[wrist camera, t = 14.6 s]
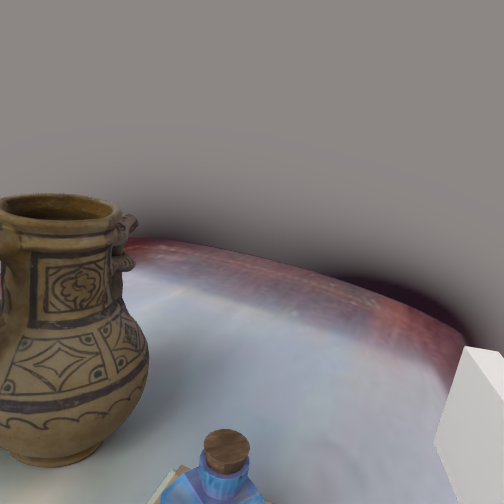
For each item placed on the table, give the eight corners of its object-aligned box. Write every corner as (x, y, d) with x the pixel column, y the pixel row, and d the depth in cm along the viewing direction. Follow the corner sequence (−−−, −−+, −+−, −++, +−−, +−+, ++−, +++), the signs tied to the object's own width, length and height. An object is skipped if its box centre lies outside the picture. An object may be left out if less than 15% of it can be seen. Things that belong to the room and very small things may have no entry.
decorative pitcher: (24, 564, 34) (11, 263, 26) (-106, 462, 41) (-148, 200, 33) (186, 412, 53) (207, 209, 45) (77, 359, 60) (79, 176, 52)
